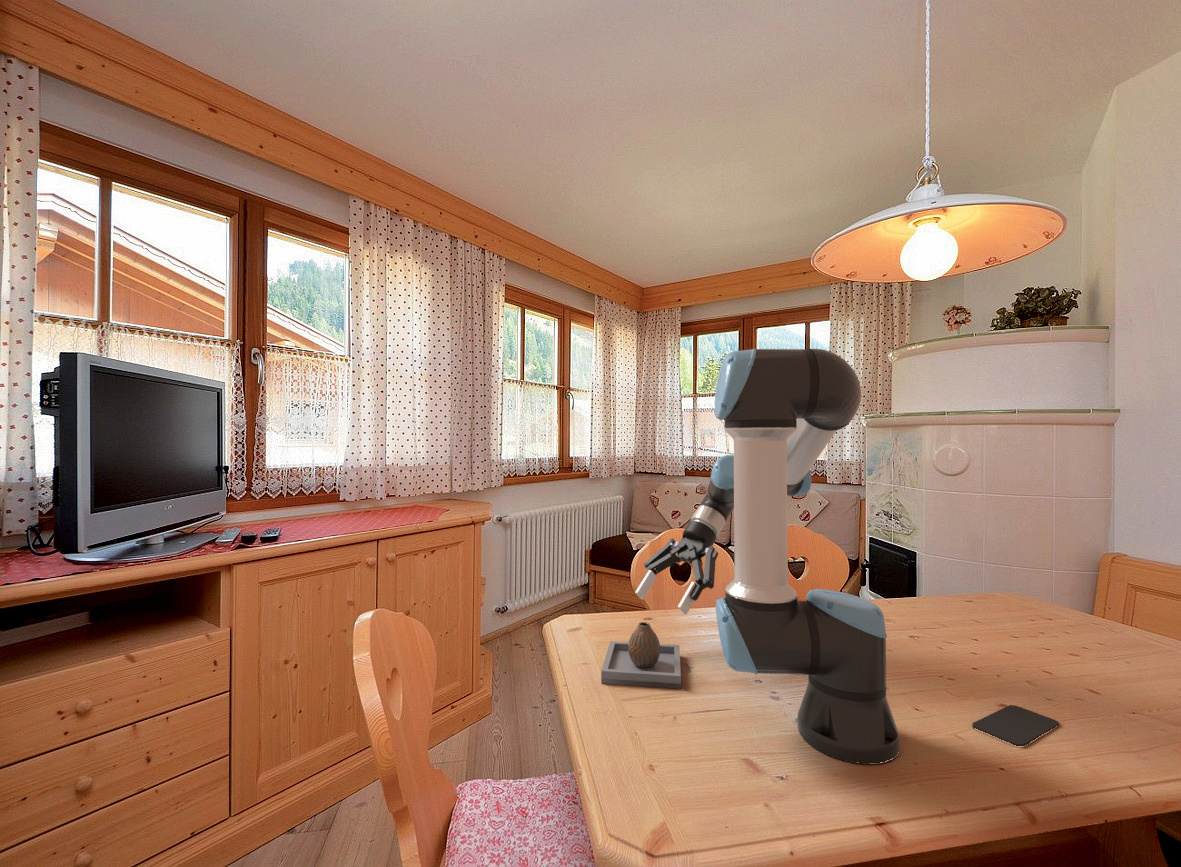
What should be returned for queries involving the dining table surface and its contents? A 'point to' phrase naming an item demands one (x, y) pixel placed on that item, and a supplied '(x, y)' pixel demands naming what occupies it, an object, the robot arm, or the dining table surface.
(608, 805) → the dining table surface
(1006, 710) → the phone
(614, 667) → the tray
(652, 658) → the vase
